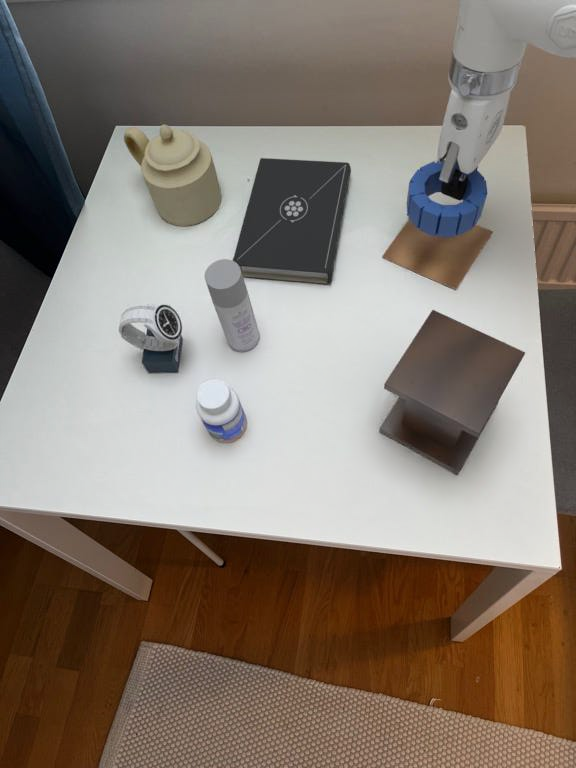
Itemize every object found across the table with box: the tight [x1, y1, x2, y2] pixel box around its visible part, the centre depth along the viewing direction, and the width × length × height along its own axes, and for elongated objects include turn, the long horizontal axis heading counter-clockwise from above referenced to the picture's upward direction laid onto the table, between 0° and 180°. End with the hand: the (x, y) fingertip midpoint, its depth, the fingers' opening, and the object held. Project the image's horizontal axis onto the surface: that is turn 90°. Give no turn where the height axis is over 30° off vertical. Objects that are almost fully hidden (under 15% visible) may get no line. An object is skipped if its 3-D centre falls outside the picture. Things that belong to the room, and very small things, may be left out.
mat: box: [381, 219, 494, 291], centre depth 86 cm, size 12×12×1 cm
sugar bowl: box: [123, 124, 222, 227], centre depth 89 cm, size 15×11×15 cm
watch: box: [118, 303, 184, 374], centre depth 78 cm, size 6×8×11 cm
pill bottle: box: [195, 378, 248, 443], centre depth 73 cm, size 5×5×10 cm
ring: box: [406, 159, 489, 237], centre depth 78 cm, size 10×10×4 cm
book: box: [232, 157, 352, 286], centre depth 90 cm, size 22×15×3 cm
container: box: [204, 258, 261, 353], centre depth 76 cm, size 5×5×15 cm
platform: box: [379, 309, 526, 476], centre depth 68 cm, size 11×11×14 cm
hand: (457, 187), depth 81 cm, fingers closed on ring, 2 cm apart
